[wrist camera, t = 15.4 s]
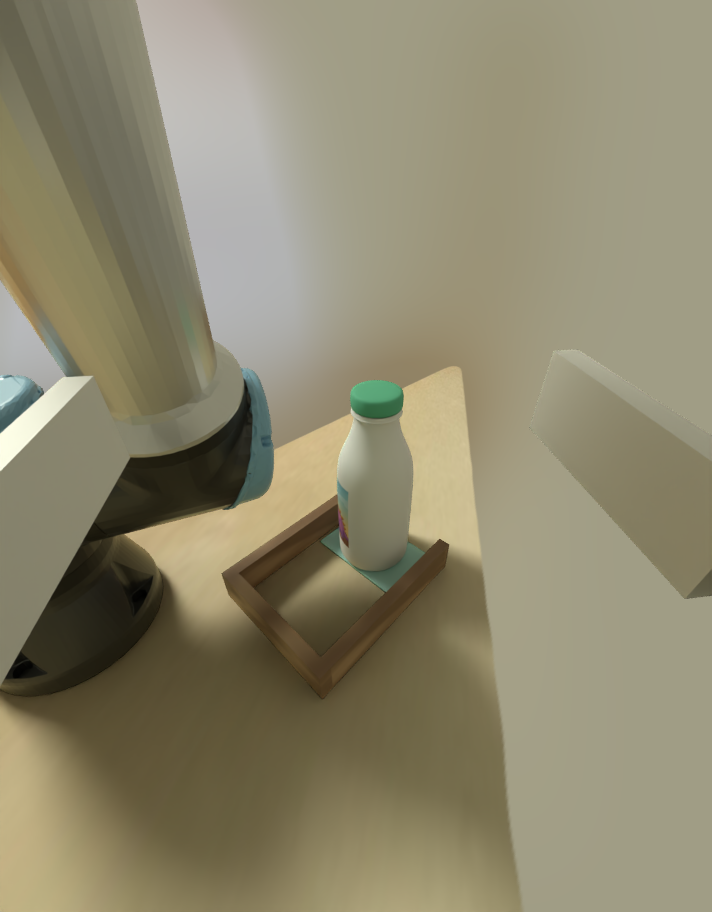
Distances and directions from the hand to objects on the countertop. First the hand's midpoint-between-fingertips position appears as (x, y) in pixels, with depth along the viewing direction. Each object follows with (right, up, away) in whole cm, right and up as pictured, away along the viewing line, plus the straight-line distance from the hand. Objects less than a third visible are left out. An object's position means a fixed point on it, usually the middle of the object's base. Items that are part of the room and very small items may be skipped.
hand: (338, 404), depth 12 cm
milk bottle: (+3, -12, +33) cm, 35 cm away
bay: (-1, -15, +30) cm, 33 cm away
